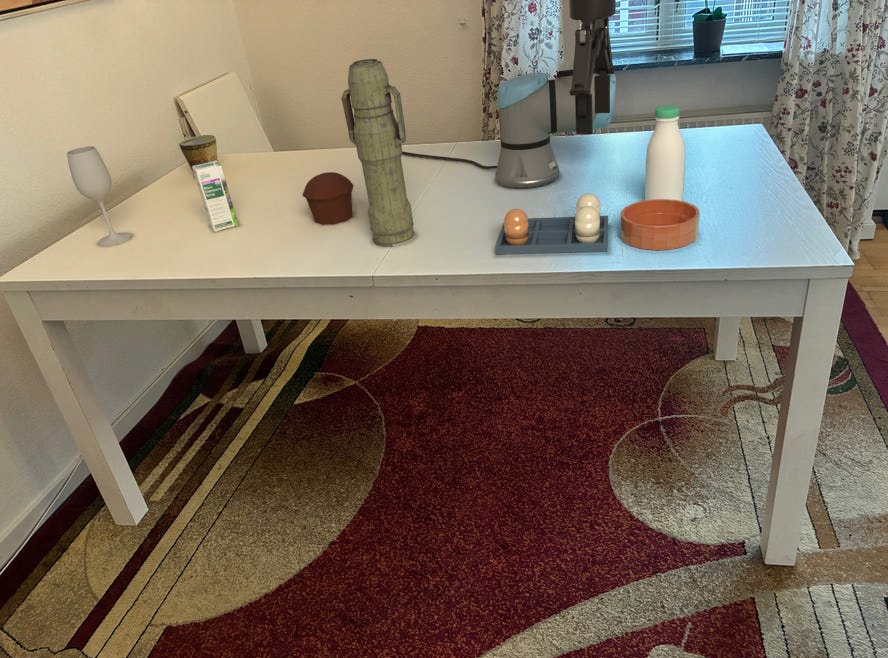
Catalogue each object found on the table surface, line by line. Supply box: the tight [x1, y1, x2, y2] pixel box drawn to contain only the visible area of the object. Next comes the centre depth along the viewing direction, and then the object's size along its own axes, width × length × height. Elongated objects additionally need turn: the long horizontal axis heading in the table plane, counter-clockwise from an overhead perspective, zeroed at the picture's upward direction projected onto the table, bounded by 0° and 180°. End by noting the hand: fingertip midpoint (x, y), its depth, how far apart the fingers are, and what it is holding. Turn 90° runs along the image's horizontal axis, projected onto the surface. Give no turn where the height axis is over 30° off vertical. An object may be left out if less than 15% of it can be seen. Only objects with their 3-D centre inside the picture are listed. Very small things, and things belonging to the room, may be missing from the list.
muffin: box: [302, 171, 354, 226], centre depth 166 cm, size 12×11×10 cm
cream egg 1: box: [575, 193, 601, 216], centre depth 143 cm, size 5×5×8 cm
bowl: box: [620, 199, 701, 251], centre depth 139 cm, size 14×14×5 cm
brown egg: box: [503, 208, 529, 245], centre depth 141 cm, size 5×5×8 cm
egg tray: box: [495, 215, 609, 256], centre depth 144 cm, size 14×21×2 cm
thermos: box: [341, 58, 415, 247], centre depth 145 cm, size 9×12×35 cm
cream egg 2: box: [574, 206, 601, 243], centre depth 138 cm, size 5×5×8 cm
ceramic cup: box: [178, 134, 219, 177], centre depth 208 cm, size 13×10×10 cm
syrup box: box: [192, 159, 239, 232], centre depth 168 cm, size 6×6×14 cm
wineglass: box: [66, 145, 132, 247], centre depth 166 cm, size 8×8×21 cm
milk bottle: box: [644, 104, 686, 201], centre depth 149 cm, size 8×8×20 cm
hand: (593, 123), depth 131 cm, fingers open, 13 cm apart
